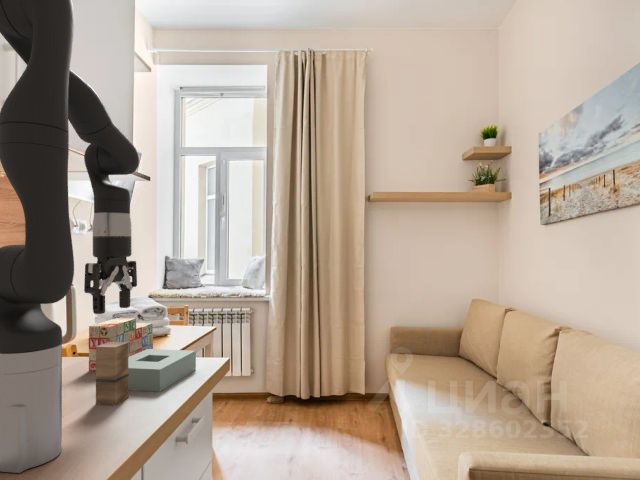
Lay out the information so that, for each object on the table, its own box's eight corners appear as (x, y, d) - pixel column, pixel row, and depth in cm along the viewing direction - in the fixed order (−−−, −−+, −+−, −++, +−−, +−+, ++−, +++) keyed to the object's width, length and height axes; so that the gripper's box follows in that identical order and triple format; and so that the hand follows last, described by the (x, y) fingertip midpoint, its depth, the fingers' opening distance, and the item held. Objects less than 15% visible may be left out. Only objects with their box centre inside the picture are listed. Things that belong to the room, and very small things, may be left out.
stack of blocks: (134, 352, 137) (134, 313, 137) (153, 353, 136) (153, 313, 136) (88, 371, 116) (88, 325, 116) (109, 372, 115) (109, 325, 115)
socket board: (160, 391, 99) (160, 369, 99) (104, 388, 101) (104, 366, 101) (195, 369, 117) (195, 350, 117) (147, 367, 119) (147, 349, 119)
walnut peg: (115, 405, 91) (115, 347, 91) (95, 404, 91) (95, 346, 91) (128, 397, 95) (128, 342, 95) (109, 396, 96) (109, 341, 96)
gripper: (106, 234, 86) (106, 316, 86) (147, 235, 100) (147, 306, 100) (72, 234, 87) (72, 315, 87) (117, 235, 101) (117, 305, 101)
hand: (112, 310), depth 93 cm, fingers open, 8 cm apart
